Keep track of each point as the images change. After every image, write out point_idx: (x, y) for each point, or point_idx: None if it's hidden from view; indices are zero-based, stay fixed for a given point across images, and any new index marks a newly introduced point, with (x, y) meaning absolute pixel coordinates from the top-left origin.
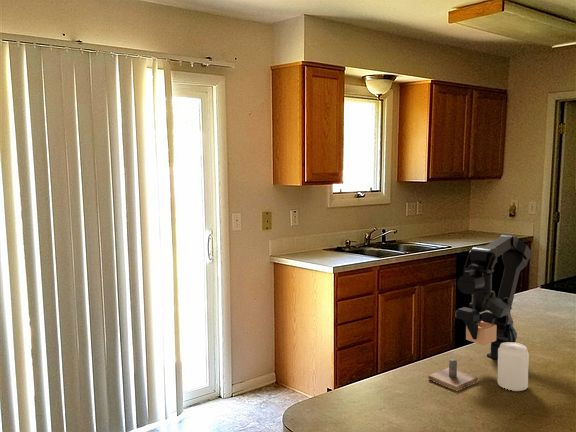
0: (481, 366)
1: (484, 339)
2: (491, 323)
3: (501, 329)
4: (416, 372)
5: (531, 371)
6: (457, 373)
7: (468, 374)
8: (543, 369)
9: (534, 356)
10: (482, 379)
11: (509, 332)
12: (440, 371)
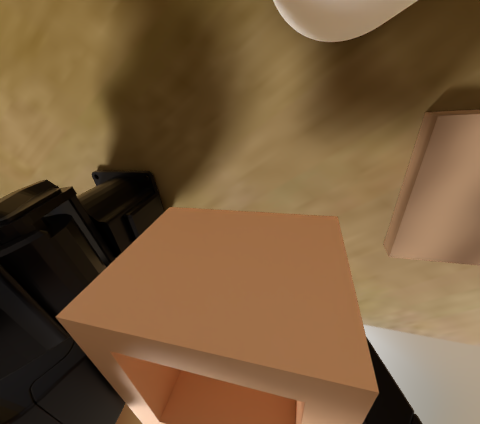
0: (247, 198)
1: (337, 250)
2: (85, 356)
3: (44, 258)
4: (473, 307)
5: (117, 39)
6: (446, 206)
7: (424, 168)
8: (58, 20)
9: (32, 133)
10: (369, 119)
11: (17, 215)
12: (469, 259)
